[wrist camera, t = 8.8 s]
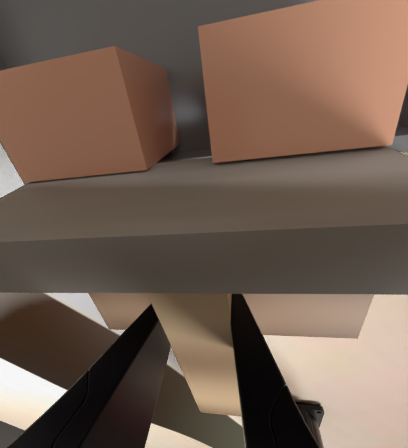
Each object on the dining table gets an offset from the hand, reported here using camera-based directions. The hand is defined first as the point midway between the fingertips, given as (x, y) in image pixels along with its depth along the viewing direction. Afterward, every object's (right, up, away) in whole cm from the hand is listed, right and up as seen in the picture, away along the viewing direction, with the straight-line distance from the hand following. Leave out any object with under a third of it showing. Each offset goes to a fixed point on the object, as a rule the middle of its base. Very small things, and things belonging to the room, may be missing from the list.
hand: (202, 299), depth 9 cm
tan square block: (+3, +6, -1) cm, 7 cm away
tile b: (-4, +6, 0) cm, 7 cm away
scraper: (0, 0, +2) cm, 2 cm away
